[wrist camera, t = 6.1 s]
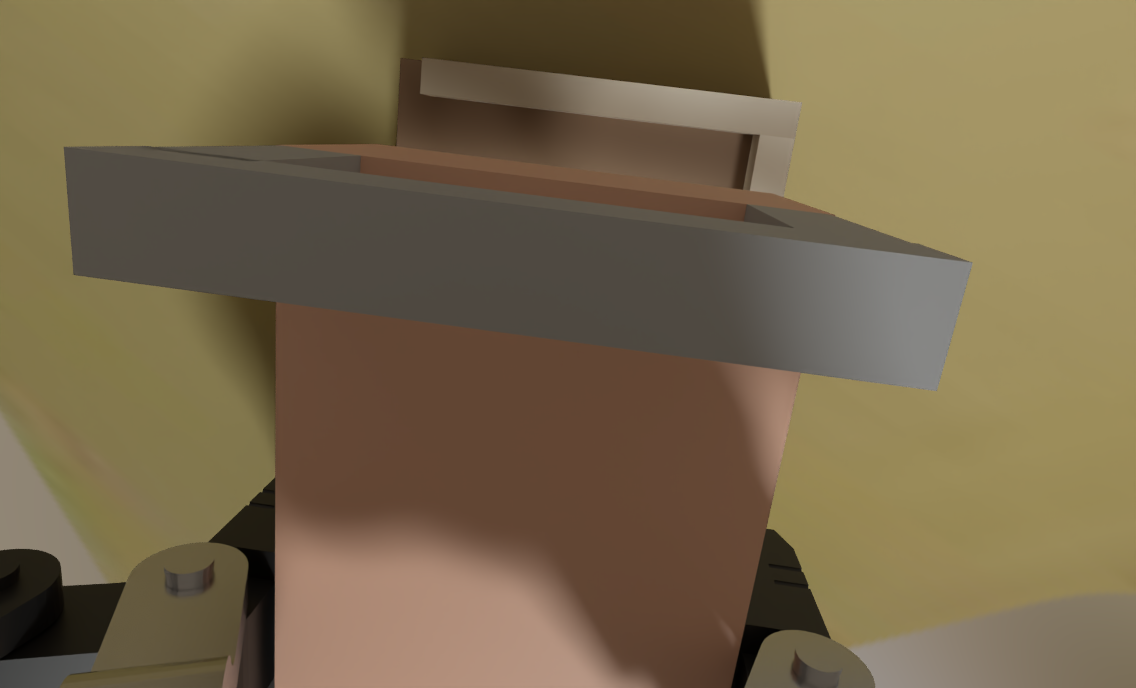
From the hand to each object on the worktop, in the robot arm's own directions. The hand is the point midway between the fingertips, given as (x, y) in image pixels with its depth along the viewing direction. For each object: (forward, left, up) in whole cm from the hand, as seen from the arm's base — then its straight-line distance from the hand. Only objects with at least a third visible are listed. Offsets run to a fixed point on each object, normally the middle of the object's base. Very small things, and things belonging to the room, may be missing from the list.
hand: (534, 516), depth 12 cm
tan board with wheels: (0, 0, -1) cm, 2 cm away
